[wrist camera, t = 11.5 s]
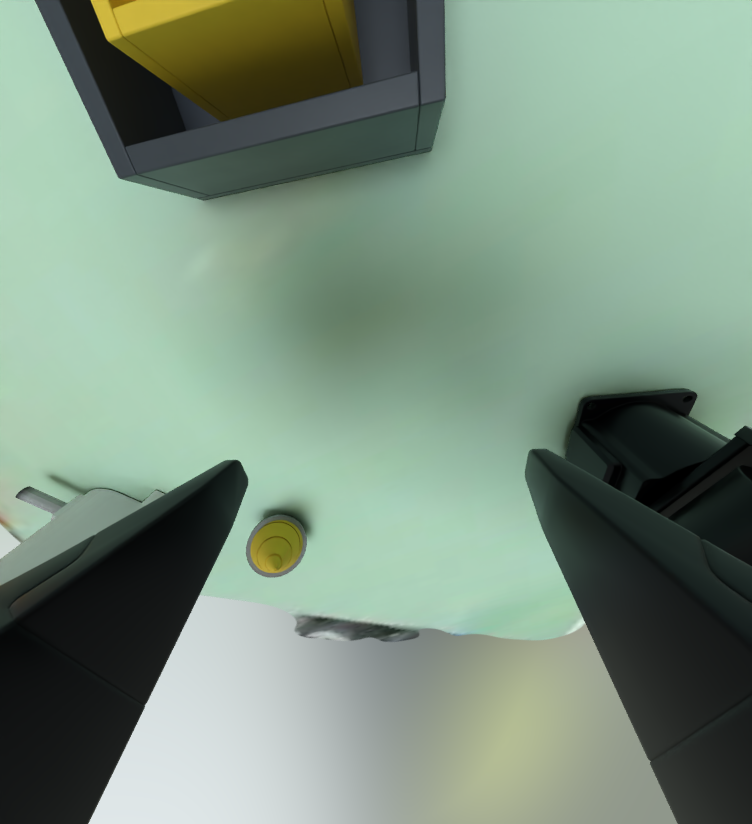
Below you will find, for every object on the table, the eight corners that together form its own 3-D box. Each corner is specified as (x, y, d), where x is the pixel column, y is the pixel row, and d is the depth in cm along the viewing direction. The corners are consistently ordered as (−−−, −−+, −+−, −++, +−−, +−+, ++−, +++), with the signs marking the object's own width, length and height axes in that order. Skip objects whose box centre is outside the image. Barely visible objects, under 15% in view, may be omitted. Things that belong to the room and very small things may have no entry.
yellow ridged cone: (248, 516, 29) (231, 540, 19) (301, 505, 30) (308, 522, 21) (253, 570, 28) (237, 622, 19) (306, 555, 30) (317, 597, 20)
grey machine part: (169, 561, 34) (24, 753, 21) (44, 506, 30) (-225, 696, 17) (202, 512, 28) (33, 732, 15) (54, 438, 25) (-327, 641, 12)
